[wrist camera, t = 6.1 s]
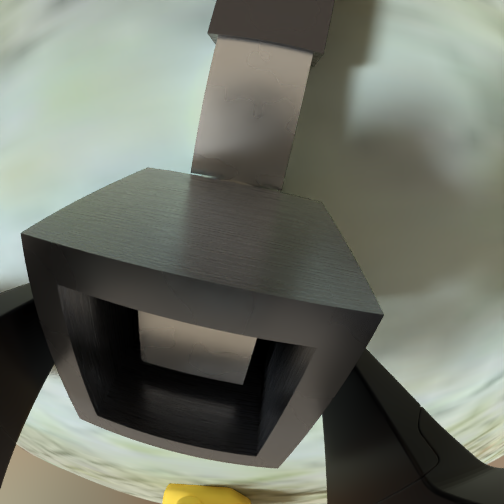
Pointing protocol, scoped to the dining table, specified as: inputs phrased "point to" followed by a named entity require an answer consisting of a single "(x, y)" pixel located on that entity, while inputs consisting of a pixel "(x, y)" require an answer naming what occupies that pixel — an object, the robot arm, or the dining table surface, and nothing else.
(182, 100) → the dining table surface
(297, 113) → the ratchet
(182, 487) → the teapot
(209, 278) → the open grey box
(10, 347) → the robot arm
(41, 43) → the dining table surface
